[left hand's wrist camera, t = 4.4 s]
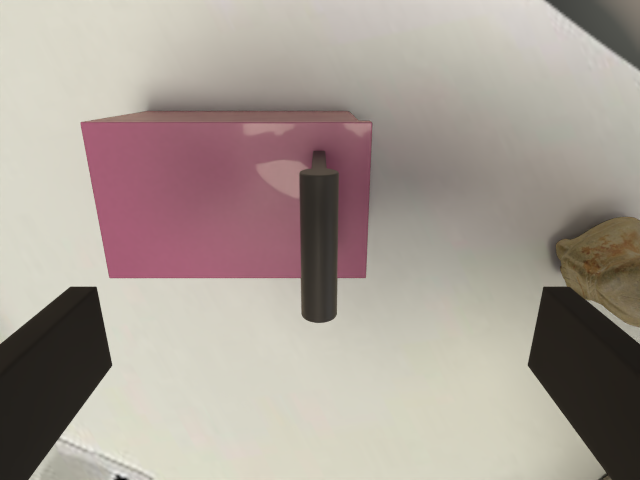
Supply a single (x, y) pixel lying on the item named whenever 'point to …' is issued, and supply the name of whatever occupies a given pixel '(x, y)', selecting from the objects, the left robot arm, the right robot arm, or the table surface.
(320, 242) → the lid
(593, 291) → the sculpture
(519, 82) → the table surface
